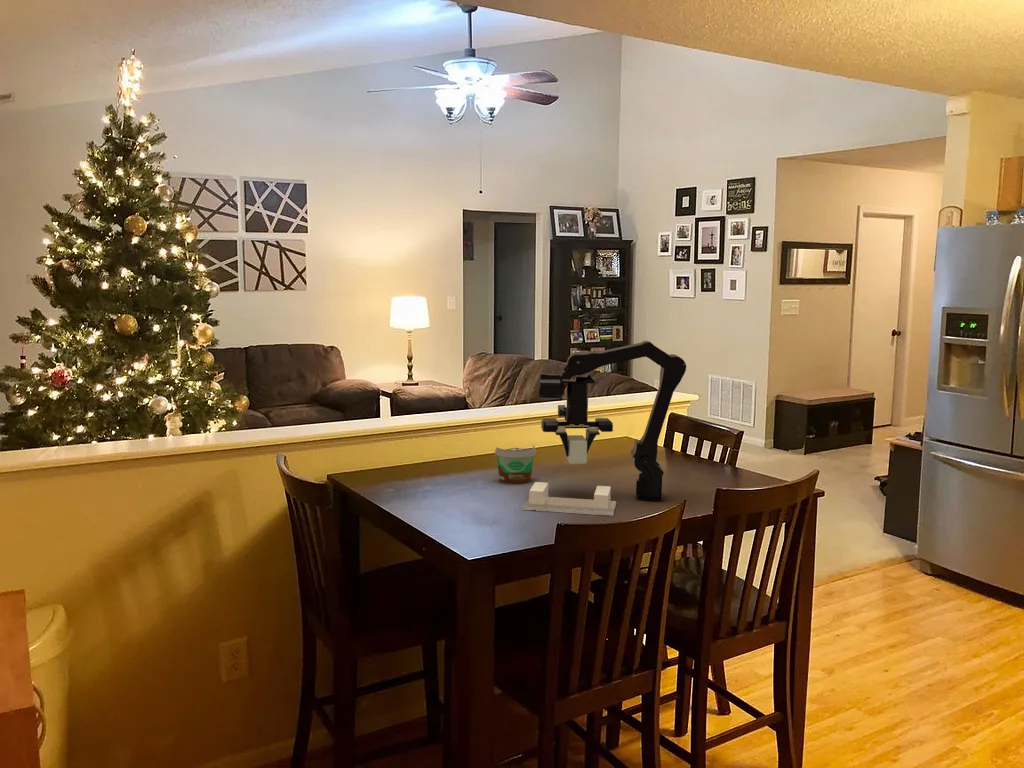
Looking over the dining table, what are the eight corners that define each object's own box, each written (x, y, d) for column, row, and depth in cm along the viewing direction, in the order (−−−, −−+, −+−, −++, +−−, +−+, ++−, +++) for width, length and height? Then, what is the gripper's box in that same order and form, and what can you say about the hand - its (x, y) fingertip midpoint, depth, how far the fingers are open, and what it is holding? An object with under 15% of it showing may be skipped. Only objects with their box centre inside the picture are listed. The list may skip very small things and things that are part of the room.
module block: (582, 456, 229) (582, 435, 228) (586, 463, 221) (587, 441, 220) (565, 456, 229) (566, 435, 228) (569, 463, 221) (570, 441, 220)
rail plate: (616, 504, 218) (616, 498, 218) (613, 515, 208) (613, 509, 208) (529, 499, 223) (529, 493, 222) (523, 509, 213) (523, 503, 213)
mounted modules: (610, 501, 218) (610, 486, 217) (607, 511, 209) (608, 495, 209) (535, 496, 222) (535, 481, 221) (529, 505, 213) (529, 490, 212)
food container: (499, 486, 236) (499, 451, 234) (494, 480, 242) (494, 447, 240) (541, 483, 239) (541, 449, 238) (534, 478, 245) (535, 445, 243)
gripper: (606, 394, 231) (605, 449, 233) (539, 394, 230) (538, 450, 232) (613, 401, 220) (612, 458, 222) (543, 401, 219) (543, 459, 221)
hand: (576, 456), depth 225 cm, fingers closed on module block, 4 cm apart
